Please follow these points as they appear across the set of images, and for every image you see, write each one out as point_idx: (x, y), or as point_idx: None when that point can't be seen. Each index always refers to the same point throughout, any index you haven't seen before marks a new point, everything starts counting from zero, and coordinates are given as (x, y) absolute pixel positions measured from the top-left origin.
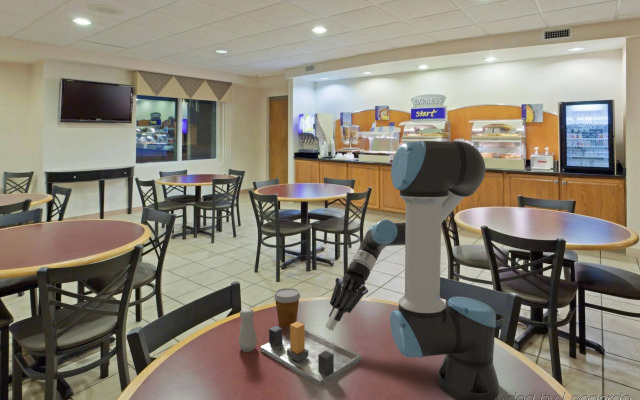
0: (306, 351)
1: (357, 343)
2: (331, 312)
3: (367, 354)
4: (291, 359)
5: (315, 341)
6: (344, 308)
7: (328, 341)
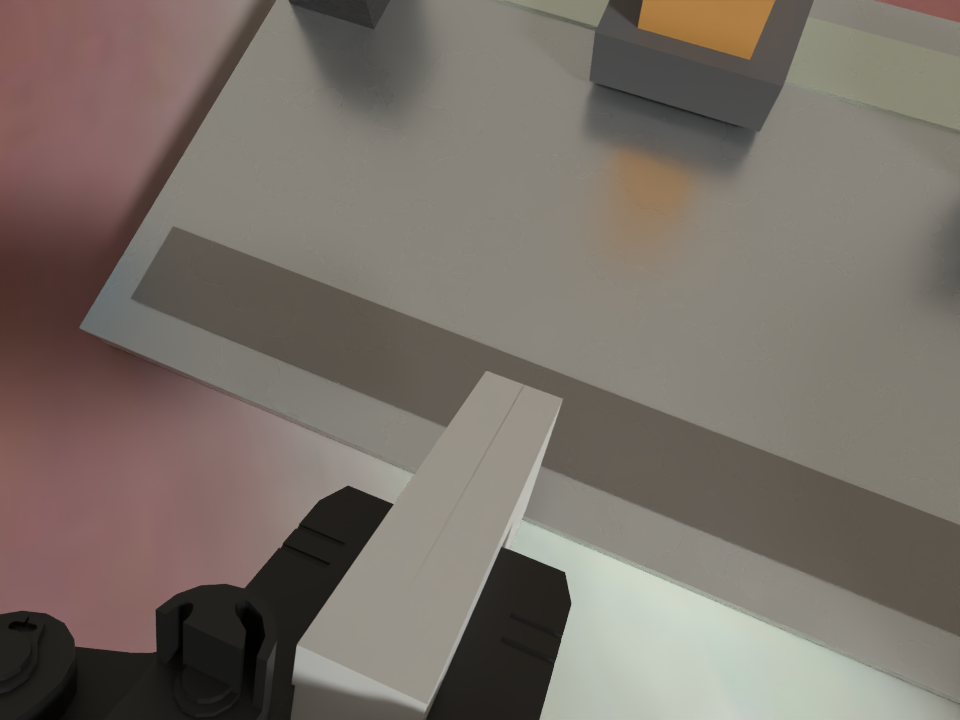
0: (604, 11)
1: None
2: (530, 658)
3: (62, 468)
4: None
5: (671, 411)
6: (65, 648)
7: None
